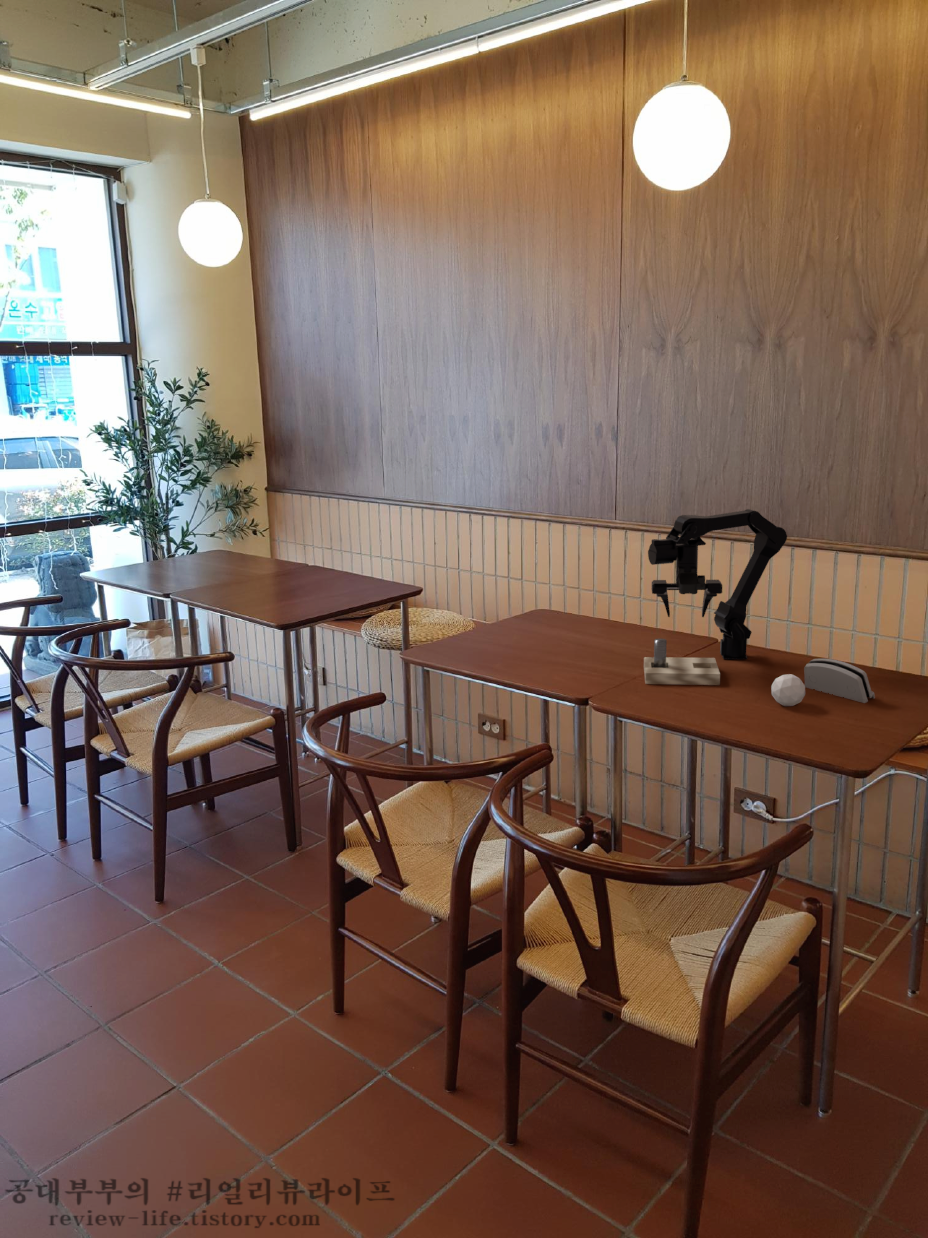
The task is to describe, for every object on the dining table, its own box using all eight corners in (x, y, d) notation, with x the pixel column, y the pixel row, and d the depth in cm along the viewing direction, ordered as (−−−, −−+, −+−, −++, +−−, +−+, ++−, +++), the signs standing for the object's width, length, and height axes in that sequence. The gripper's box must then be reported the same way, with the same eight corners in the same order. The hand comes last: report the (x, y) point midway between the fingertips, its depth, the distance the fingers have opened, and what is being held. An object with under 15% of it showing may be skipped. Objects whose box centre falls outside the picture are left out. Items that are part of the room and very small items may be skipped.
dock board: (714, 668, 256) (714, 657, 255) (719, 684, 243) (720, 674, 242) (643, 667, 259) (643, 657, 259) (645, 683, 246) (645, 673, 245)
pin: (665, 674, 253) (666, 638, 251) (666, 677, 250) (666, 641, 248) (653, 673, 254) (654, 638, 251) (653, 677, 251) (654, 641, 248)
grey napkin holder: (876, 698, 229) (871, 664, 225) (866, 709, 227) (861, 675, 223) (815, 682, 242) (809, 650, 238) (804, 692, 240) (799, 660, 235)
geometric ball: (786, 718, 226) (776, 698, 221) (771, 697, 232) (761, 677, 228) (815, 703, 225) (806, 682, 220) (799, 682, 231) (789, 662, 227)
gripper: (653, 568, 250) (652, 624, 254) (725, 567, 247) (723, 624, 251) (651, 559, 260) (651, 614, 264) (720, 559, 257) (719, 614, 261)
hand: (685, 616), depth 260 cm, fingers open, 9 cm apart
